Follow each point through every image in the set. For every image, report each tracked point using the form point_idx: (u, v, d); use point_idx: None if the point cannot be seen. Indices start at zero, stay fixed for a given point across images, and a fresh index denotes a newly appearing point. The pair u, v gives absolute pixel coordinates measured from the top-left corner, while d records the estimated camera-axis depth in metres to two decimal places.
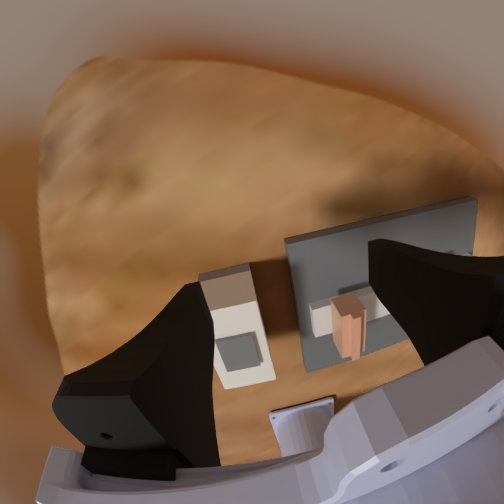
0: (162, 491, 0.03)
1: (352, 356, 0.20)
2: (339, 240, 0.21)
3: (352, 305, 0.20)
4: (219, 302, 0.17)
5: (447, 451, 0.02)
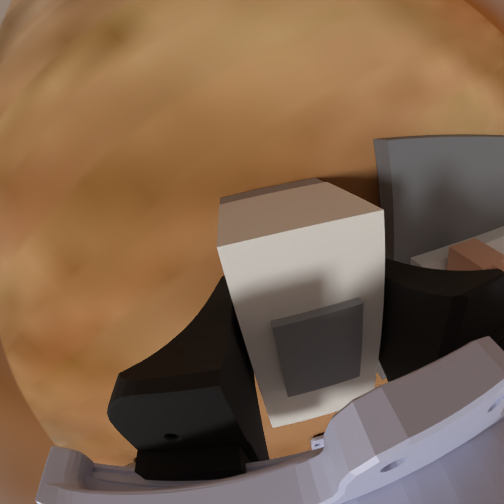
0: (162, 491, 0.03)
1: None
2: (453, 150, 0.10)
3: (485, 253, 0.09)
4: (286, 220, 0.07)
5: (447, 451, 0.02)
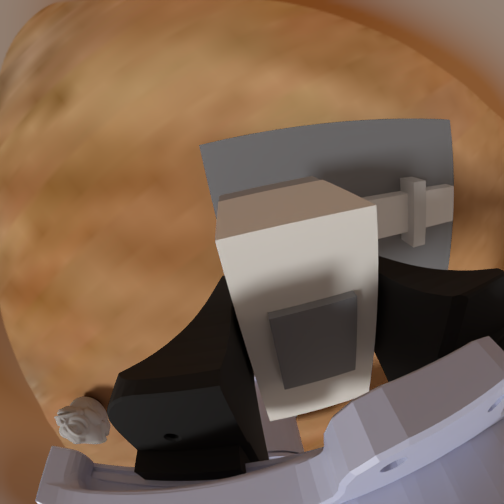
0: (162, 491, 0.03)
1: None
2: (264, 142, 0.17)
3: None
4: (282, 215, 0.07)
5: (447, 451, 0.02)
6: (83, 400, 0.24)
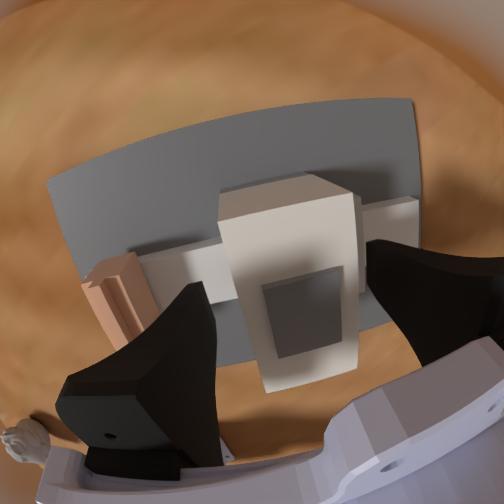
0: (162, 491, 0.03)
1: None
2: (108, 166, 0.12)
3: (110, 268, 0.11)
4: (273, 202, 0.08)
5: (447, 451, 0.02)
6: (25, 423, 0.19)
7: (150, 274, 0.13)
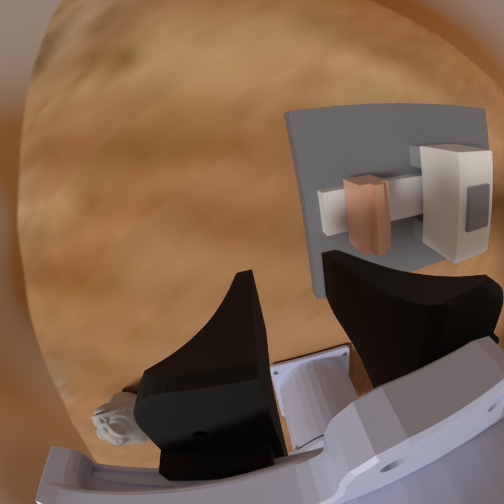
0: (162, 491, 0.03)
1: (377, 249, 0.16)
2: (346, 114, 0.16)
3: (370, 179, 0.16)
4: (466, 149, 0.13)
5: (447, 451, 0.02)
6: (123, 396, 0.24)
7: None
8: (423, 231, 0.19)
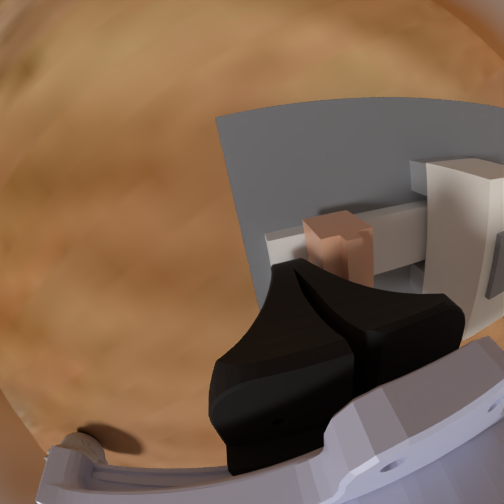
0: (162, 491, 0.03)
1: None
2: (310, 116, 0.11)
3: (343, 223, 0.10)
4: (498, 172, 0.08)
5: (447, 451, 0.02)
6: (75, 439, 0.18)
7: None
8: (424, 284, 0.13)
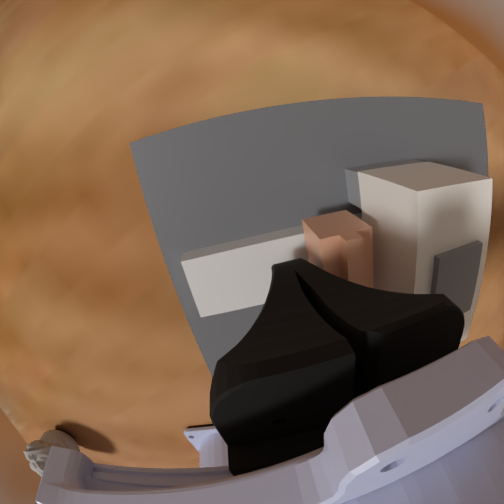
0: (162, 491, 0.03)
1: None
2: (222, 131, 0.11)
3: (343, 223, 0.10)
4: (441, 180, 0.08)
5: (447, 451, 0.02)
6: (51, 435, 0.18)
7: (269, 256, 0.12)
8: None
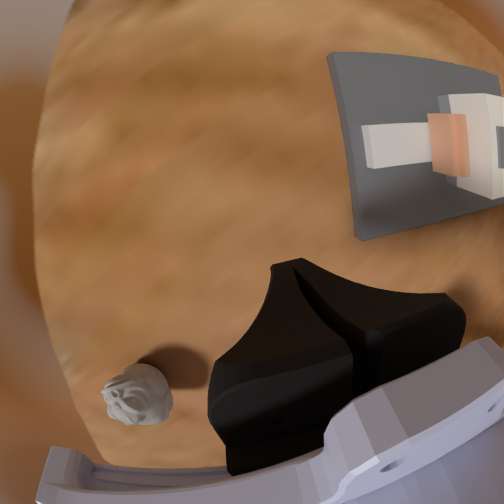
0: (162, 491, 0.03)
1: (463, 171, 0.14)
2: (383, 61, 0.15)
3: None
4: None
5: (447, 451, 0.02)
6: (139, 367, 0.22)
7: (412, 132, 0.16)
8: None
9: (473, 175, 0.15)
